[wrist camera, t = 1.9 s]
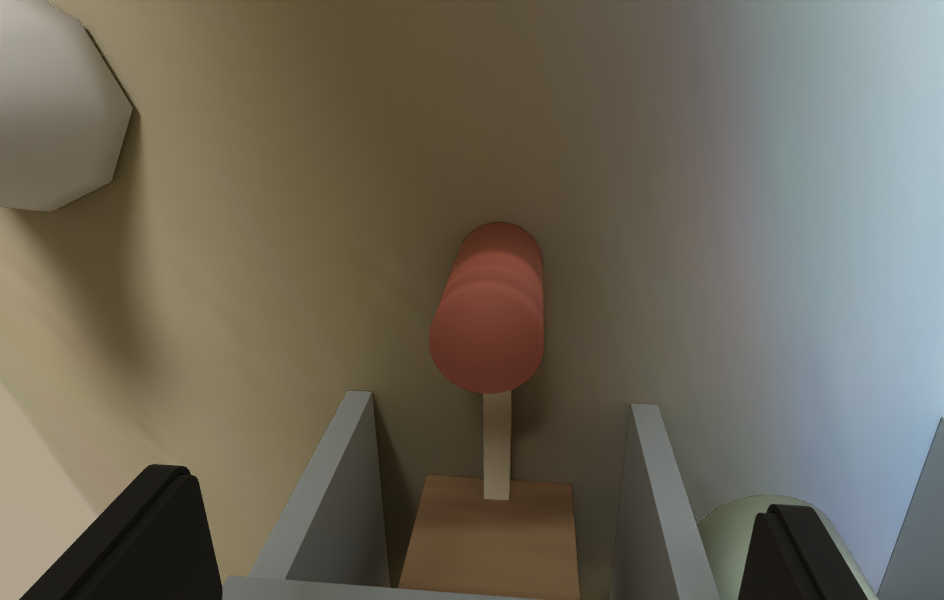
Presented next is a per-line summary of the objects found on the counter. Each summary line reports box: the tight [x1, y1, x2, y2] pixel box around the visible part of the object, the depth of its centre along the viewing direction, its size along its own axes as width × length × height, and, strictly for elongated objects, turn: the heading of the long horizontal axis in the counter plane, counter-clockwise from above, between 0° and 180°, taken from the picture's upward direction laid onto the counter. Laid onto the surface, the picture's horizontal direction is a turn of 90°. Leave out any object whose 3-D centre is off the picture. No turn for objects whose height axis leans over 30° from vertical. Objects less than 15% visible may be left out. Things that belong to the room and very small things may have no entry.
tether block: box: [398, 222, 580, 600], centre depth 21 cm, size 17×6×6 cm, turn 1°
